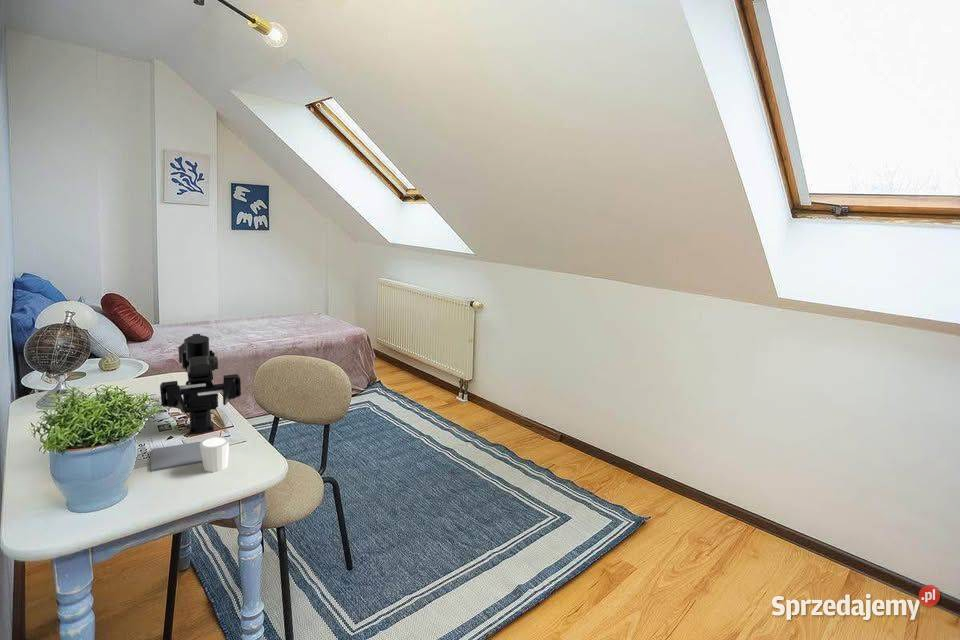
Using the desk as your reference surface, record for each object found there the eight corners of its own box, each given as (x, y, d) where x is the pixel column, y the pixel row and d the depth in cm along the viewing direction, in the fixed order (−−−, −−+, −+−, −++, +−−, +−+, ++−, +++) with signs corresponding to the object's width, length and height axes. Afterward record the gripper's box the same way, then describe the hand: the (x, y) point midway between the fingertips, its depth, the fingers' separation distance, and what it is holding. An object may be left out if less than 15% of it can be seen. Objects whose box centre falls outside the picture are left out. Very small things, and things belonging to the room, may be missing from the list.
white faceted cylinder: (218, 475, 137) (217, 449, 135) (194, 470, 138) (193, 445, 136) (236, 462, 143) (235, 438, 142) (213, 458, 144) (211, 434, 143)
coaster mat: (151, 451, 146) (151, 448, 146) (201, 443, 152) (201, 441, 152) (150, 471, 136) (150, 469, 136) (204, 462, 142) (204, 460, 142)
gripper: (157, 354, 141) (158, 383, 129) (235, 347, 150) (243, 373, 138) (161, 391, 145) (162, 422, 133) (237, 382, 154) (244, 410, 142)
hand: (204, 406), depth 136 cm, fingers open, 9 cm apart
